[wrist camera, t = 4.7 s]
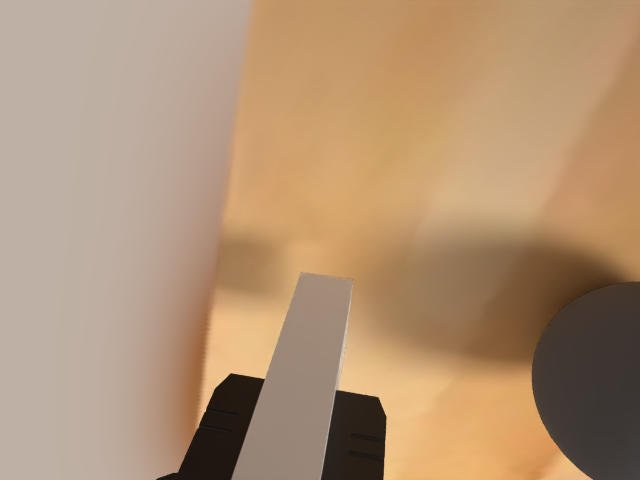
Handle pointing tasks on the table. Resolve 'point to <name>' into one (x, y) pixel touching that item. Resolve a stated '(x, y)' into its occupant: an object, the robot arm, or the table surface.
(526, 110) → the table surface
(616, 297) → the dark gray ball
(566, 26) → the table surface
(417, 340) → the table surface
